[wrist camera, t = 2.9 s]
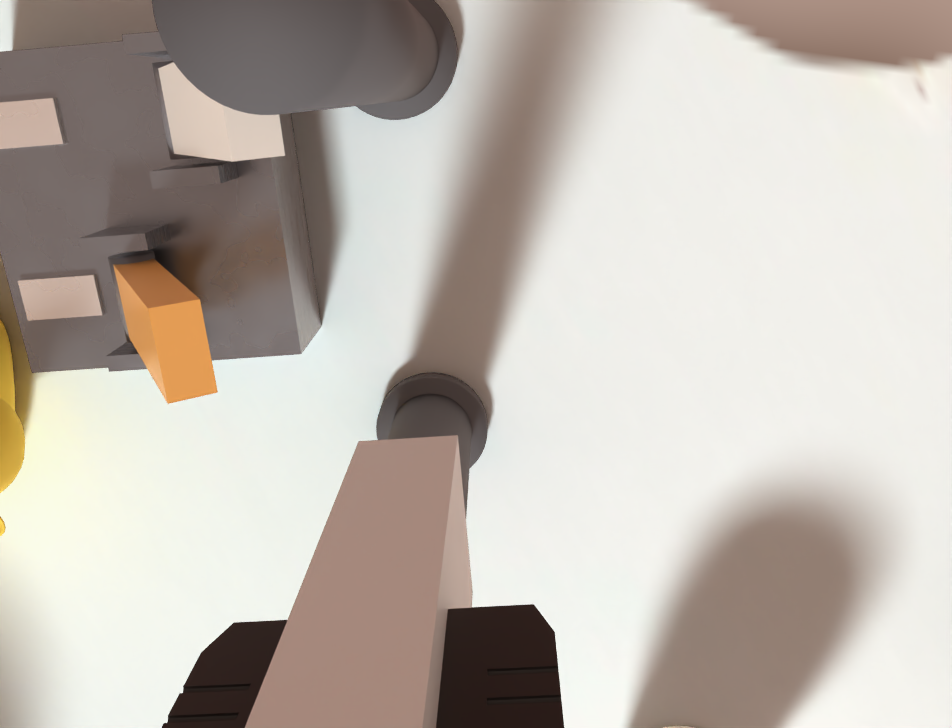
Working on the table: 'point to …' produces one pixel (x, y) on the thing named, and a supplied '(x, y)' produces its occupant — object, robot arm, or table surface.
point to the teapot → (8, 420)
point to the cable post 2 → (436, 415)
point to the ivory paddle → (211, 123)
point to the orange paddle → (163, 325)
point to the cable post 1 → (312, 53)
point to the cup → (679, 727)
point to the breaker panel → (138, 213)
